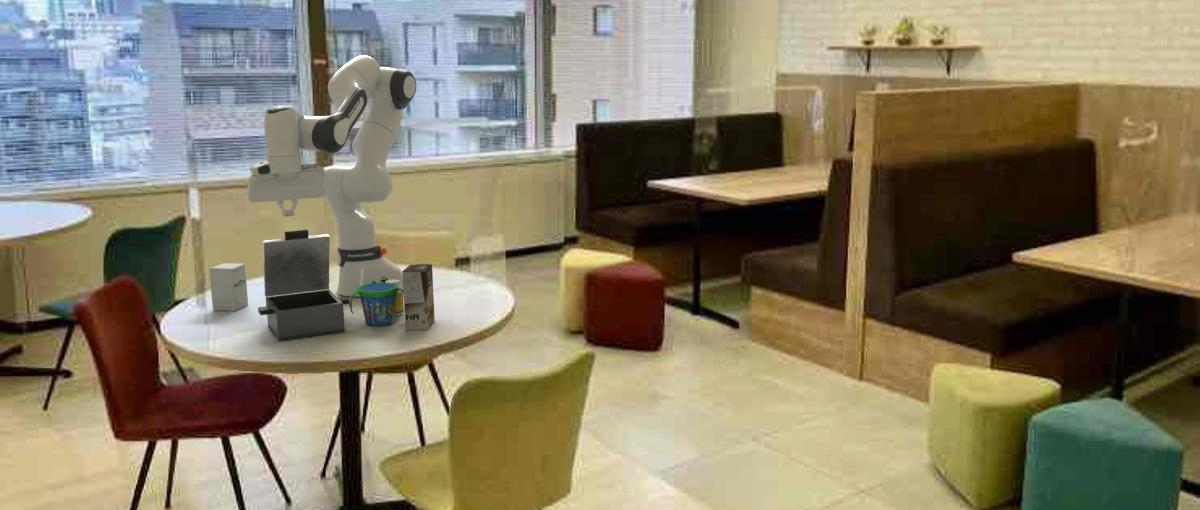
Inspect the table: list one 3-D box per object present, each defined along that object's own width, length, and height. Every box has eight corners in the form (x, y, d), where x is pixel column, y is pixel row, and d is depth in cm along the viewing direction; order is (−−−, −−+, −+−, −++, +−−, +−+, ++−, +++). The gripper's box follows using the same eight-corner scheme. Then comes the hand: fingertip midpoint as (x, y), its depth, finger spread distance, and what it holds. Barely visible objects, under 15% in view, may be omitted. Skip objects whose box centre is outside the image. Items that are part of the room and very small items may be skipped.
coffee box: (428, 330, 260) (425, 271, 257) (404, 330, 261) (401, 271, 257) (435, 320, 269) (432, 263, 266) (412, 320, 270) (409, 263, 266)
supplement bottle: (382, 312, 278) (380, 280, 276) (401, 310, 280) (399, 277, 278) (387, 317, 273) (385, 284, 271) (406, 314, 276) (404, 281, 274)
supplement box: (235, 311, 282) (231, 268, 279) (212, 310, 283) (207, 268, 281) (249, 305, 289) (245, 263, 286) (226, 304, 290) (222, 262, 288)
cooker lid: (329, 289, 273) (328, 286, 273) (329, 229, 263) (328, 227, 264) (265, 296, 265) (264, 294, 266) (263, 236, 256) (262, 233, 256)
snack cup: (408, 315, 275) (406, 280, 273) (409, 325, 265) (407, 289, 263) (350, 319, 271) (348, 284, 269) (350, 330, 261) (347, 293, 259)
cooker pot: (341, 315, 276) (339, 288, 274) (356, 330, 261) (354, 301, 259) (256, 327, 265) (254, 298, 264) (266, 343, 251) (263, 313, 249)
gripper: (321, 162, 273) (324, 211, 276) (243, 167, 264) (248, 217, 267) (325, 164, 267) (329, 214, 270) (247, 169, 258) (251, 221, 261)
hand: (288, 216), depth 268 cm, fingers closed
